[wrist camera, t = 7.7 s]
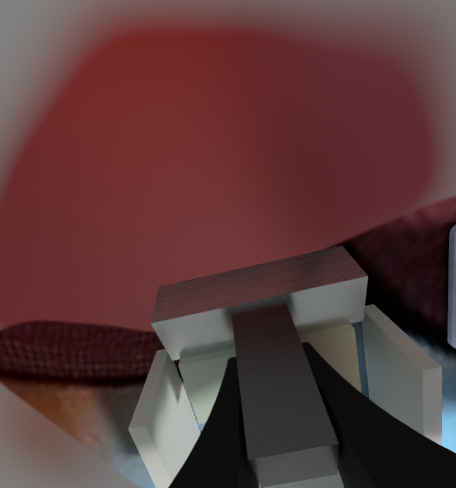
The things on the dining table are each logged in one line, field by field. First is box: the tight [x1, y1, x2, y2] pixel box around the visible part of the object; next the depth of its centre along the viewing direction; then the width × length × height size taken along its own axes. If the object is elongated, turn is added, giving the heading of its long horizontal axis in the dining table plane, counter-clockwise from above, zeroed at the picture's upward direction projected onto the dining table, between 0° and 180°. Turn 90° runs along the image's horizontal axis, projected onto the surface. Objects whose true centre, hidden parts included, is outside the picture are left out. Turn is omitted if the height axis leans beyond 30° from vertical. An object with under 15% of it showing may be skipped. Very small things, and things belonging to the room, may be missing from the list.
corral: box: [128, 304, 442, 488], centre depth 14 cm, size 14×9×5 cm, turn 104°
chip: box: [298, 324, 361, 392], centre depth 14 cm, size 4×4×3 cm
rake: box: [151, 246, 368, 488], centre depth 11 cm, size 10×3×8 cm, turn 103°
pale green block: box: [178, 348, 236, 424], centre depth 15 cm, size 4×4×3 cm
